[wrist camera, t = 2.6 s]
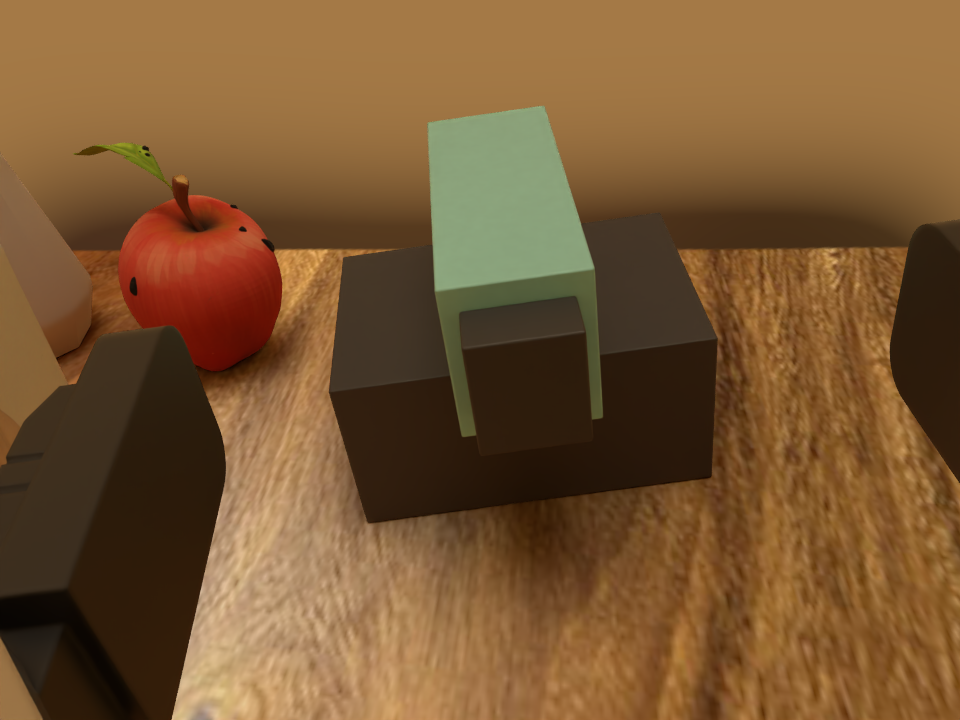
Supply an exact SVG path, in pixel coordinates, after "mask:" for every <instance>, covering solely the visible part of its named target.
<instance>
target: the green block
mask: <svg viewBox="0 0 960 720" xmlns="http://www.w3.org/2000/svg"><path fill="white" fill-rule="evenodd" d="M427 125H428V126H427V128H428V151H429V173H430V197H431V220H432V243H433V266H434V290H435V296H436V302H437V307H438V312H439V318H440V323H441V328H442V334H443V339H444V344H445V350H446V355H447V361H448V366H449V371H450V377H451V382H452V387H453V393H454V398H455V403H456V409H457V414H458V419H459V425H460V430H461V435H462V436H463V437H467V436H475V435H476V436H477V442H478V448H479V453H480V455H481V456H485V455H493V454H500V453H507V452H515V451H522V450H529V449H537V448H544V447H552V446H559V445H566V444H574V443H581V442H589V441H592V440H593V427H592V419H600V418H602V417H603V407H602V389H601V371H600V353H599V335H598V317H597V299H596V281H595V268H594V265H593V261H592V258H591V255H590V252H589V248H588V245H587V242H586V239H585V235H584V232H583V229H582V226H581V223H580V219H579V216H578V213H577V210H576V207H575V203H574V200H573V197H572V194H571V190H570V187H569V184H568V180H567V177H566V174H565V171H564V168H563V164H562V161H561V158H560V155H559V151H558V148H557V145H556V142H555V138H554V135H553V132H552V129H551V125H550V122H549V119H548V116H547V112H546V109H545V107H544V106H538V107H531V108H524V109H518V110H511V111H504V112H497V113H490V114H483V115H477V116H470V117H462V118H455V119H449V120H442V121H435V122H429V123H428V124H427Z"/></svg>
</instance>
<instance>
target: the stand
mask: <svg viewBox="0 0 960 720" xmlns="http://www.w3.org/2000/svg"><path fill="white" fill-rule="evenodd" d="M581 226H582V229H583V232H584V235H585V239H586V242H587V245H588V248H589V252H590V255H591V258H592V261H593V265H594V268H595V281H596V299H597V317H598V335H599V353H600V371H601V389H602V407H603V417H602V418H600V419H592V427H593V440H592V441H589V442H581V443H574V444H566V445H559V446H552V447H544V448H537V449H529V450H522V451H515V452H507V453H500V454H493V455H485V456H481V455H480V453H479V448H478V442H477V436H476V435H475V436H467V437H463V436H462V435H461V430H460V425H459V419H458V414H457V409H456V403H455V398H454V393H453V387H452V382H451V377H450V371H449V366H448V361H447V355H446V350H445V344H444V339H443V334H442V328H441V323H440V318H439V312H438V307H437V302H436V296H435V290H434V266H433V245H427V246H420V247H413V248H406V249H399V250H392V251H385V252H378V253H371V254H364V255H357V256H349V257H344V258H343V265H342V275H341V284H340V293H339V303H338V312H337V321H336V331H335V340H334V349H333V358H332V368H331V377H330V386H329V394H330V398H331V401H332V404H333V408H334V411H335V414H336V418H337V421H338V424H339V428H340V431H341V435H342V438H343V441H344V445H345V448H346V451H347V455H348V458H349V462H350V465H351V468H352V472H353V475H354V478H355V482H356V485H357V489H358V492H359V495H360V499H361V502H362V505H363V509H364V512H365V515H366V519H367V522H376V521H383V520H391V519H398V518H406V517H413V516H421V515H428V514H436V513H443V512H451V511H458V510H466V509H473V508H480V507H488V506H495V505H503V504H510V503H518V502H525V501H533V500H540V499H548V498H555V497H563V496H570V495H577V494H585V493H592V492H600V491H607V490H615V489H622V488H630V487H637V486H645V485H652V484H660V483H667V482H674V481H682V480H689V479H697V478H704V477H711V475H712V453H713V430H714V408H715V385H716V363H717V341H718V338H717V336H716V334H715V332H714V330H713V327H712V325H711V323H710V321H709V319H708V316H707V314H706V312H705V310H704V308H703V306H702V303H701V301H700V299H699V297H698V295H697V292H696V290H695V288H694V286H693V284H692V282H691V279H690V277H689V275H688V273H687V271H686V269H685V266H684V264H683V262H682V260H681V258H680V255H679V253H678V251H677V249H676V247H675V245H674V242H673V240H672V238H671V236H670V234H669V231H668V229H667V227H666V225H665V223H664V221H663V218H662V216H661V214H660V213H653V214H646V215H639V216H632V217H625V218H617V219H610V220H603V221H597V222H589V223H582V224H581Z"/></svg>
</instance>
